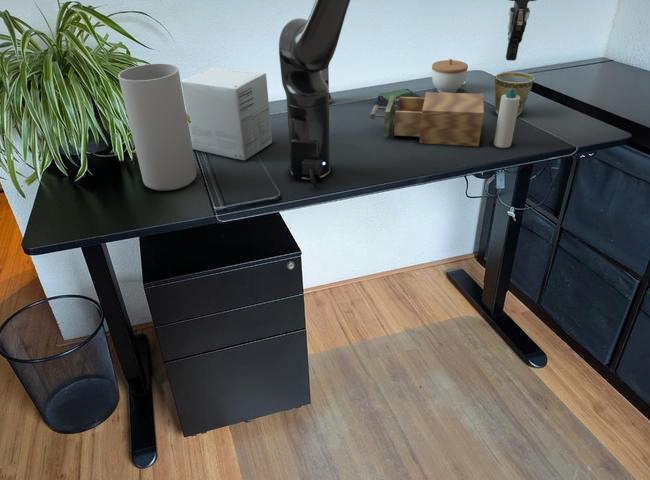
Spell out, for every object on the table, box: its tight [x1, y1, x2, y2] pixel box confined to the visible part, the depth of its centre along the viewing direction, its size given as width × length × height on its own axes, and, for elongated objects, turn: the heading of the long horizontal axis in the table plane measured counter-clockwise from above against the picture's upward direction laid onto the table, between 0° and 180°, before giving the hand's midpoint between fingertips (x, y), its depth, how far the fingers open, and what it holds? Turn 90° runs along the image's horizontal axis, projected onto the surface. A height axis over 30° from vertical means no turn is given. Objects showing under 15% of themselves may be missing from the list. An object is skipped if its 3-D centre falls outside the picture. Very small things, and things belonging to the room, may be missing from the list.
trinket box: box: [431, 58, 469, 93], centre depth 169 cm, size 11×11×9 cm
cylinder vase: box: [117, 63, 197, 192], centre depth 122 cm, size 12×12×25 cm
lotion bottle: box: [493, 89, 520, 149], centre depth 132 cm, size 4×4×14 cm
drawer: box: [369, 95, 425, 138], centre depth 144 cm, size 18×13×7 cm
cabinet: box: [418, 91, 485, 147], centre depth 141 cm, size 15×14×9 cm
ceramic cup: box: [494, 71, 535, 117], centre depth 151 cm, size 13×10×10 cm
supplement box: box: [180, 67, 273, 161], centre depth 138 cm, size 17×13×18 cm
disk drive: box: [377, 88, 423, 115], centre depth 160 cm, size 10×3×15 cm
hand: (510, 59), depth 125 cm, fingers closed
